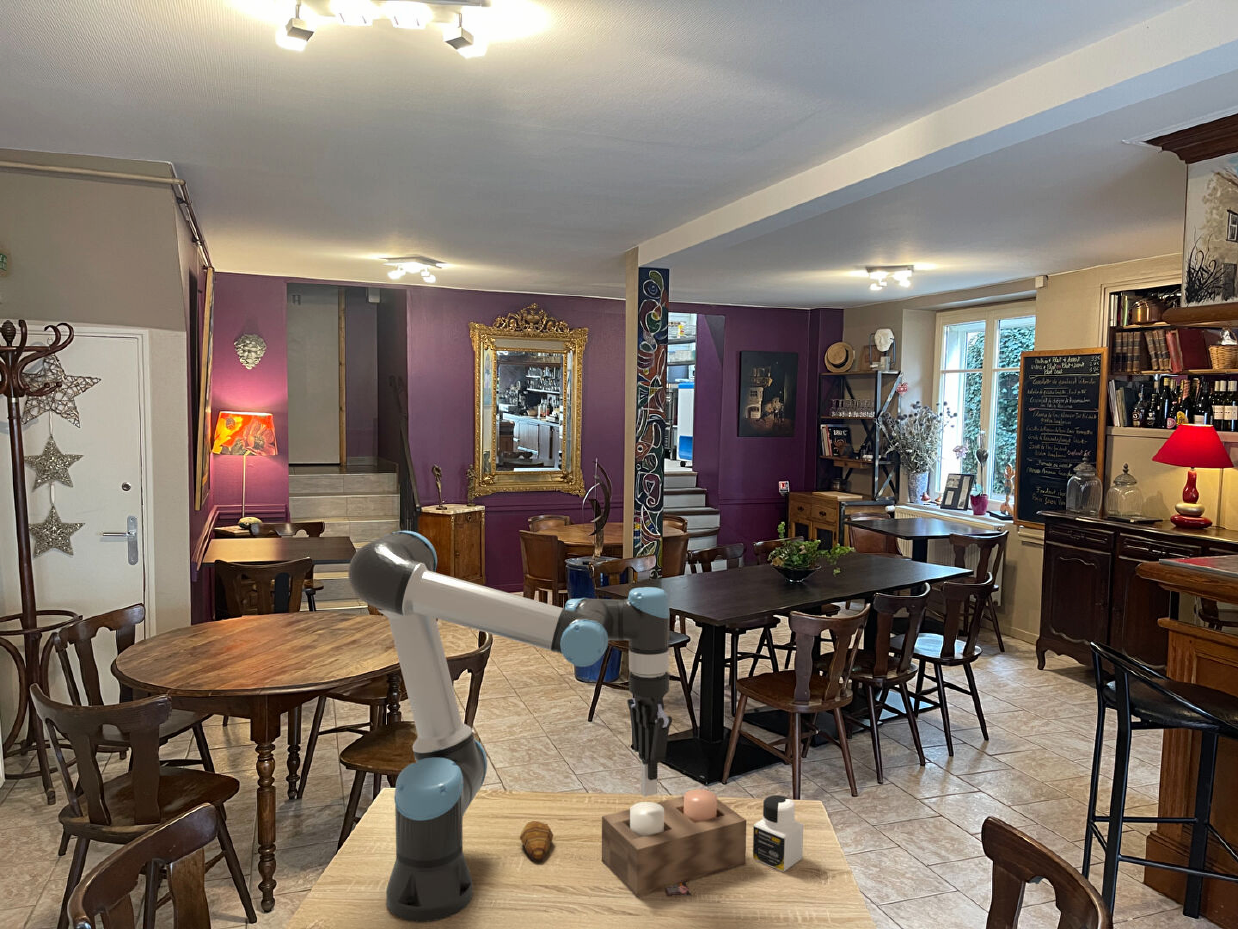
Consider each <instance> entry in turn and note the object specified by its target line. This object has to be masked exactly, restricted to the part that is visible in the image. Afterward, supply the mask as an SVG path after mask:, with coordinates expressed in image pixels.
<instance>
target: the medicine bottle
mask: <svg viewBox="0 0 1238 929" xmlns="http://www.w3.org/2000/svg"><path fill="white" fill-rule="evenodd" d="M795 806H796V804H795V802H794V800H792V799H791V798H789V797H787V796H784V795H779V794H777V795H776V794H775V795H769V796H767V797H766V798H765V799H763V808H762V819H760V820H759V821H757V822H755V823H754V824H753V830H752V831H753V834H752V835H753V836H752V839H753V840H752V859H753V860H755V861H756V862H759V863H761V864H764V865H766V866H769V867H771V868H773V869H775V870H777V871H780V872H782V873H784V872H785V871H787V870H788V869H790V868H791V867H793V866H794V865H795V864H797V863H798V862H799V861H800V860H802V859H803V858H804V857H803V856H804V849H803V848H804V823H802V822H799V821H797V820H795V815H796V814H795V811H796V807H795Z"/></svg>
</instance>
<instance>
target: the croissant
mask: <svg viewBox="0 0 1238 929" xmlns="http://www.w3.org/2000/svg"><path fill="white" fill-rule="evenodd" d="M553 837H554V834H553V831H552V830H551V827H550V826H549V825H548V823H543V822H541V821H537V820H532V821H529V822H527V823H526V825H525V826H524V828H522V831H521V834H520V836H519V840H520V841H521V843H522V844H523V846H524V848H525V851H526V852H527V854H528V856H529V857H530V858H531V859H532V860H533V861H534V862H541V861H543V860H544V858H545V856H546V855H547V852H548V851H549V849H550V844H551V843H552V841H553V839H554V838H553Z"/></svg>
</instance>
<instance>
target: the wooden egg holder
mask: <svg viewBox="0 0 1238 929" xmlns="http://www.w3.org/2000/svg"><path fill="white" fill-rule="evenodd" d="M656 803H657V804H659V805H661V806H662V807H663V808H664V831H663V832H659V833H656V834H652V835H648V836H644V837H639V836H638V835H637V834H635V833H634V832H633V831H632V830H631V829H630V808H629V809H626V810H622V811H617V812H614V813H609V814H606V815H602V816H601V862H602V863H603V864H604V865H605V866H606V867H607V869H609V870H610V871H611V872H612V873H613V875H615V876H616V878H618V880H619V881H620V882H621V883H622V884H623V885H624V886H625V887H626V888H627V889H628V890H629V891H630V892H631V893H632V894H633V895H634V897H636V898H640V897H643V896H646V895H650V894H653V893H656V892H660V891H665V889H666V888H667V887H669V886H673V885H676V884H679V883H683V882H685V883H686V884H687V883H690V882H695V881H696V880H700V879H704V878H707V877H710V876H714V875H717V874H721V873H723V872H724V873H725V872H728V871H731V870H733V869H737V868H740V867H744V866H746V865H747V864H746V862H747V860H746V858H747V857H746V856H747V855H746V854H747V852H746V850H747V819H746V818H745V817H743V816H742V815H740V814H739V813H738V812H736V811H734V810H733V809H732V808H731V807H729V806H727V804H725V803H723V802H722V801H721V800H720V799H718V798H717V817H716V818H713V819H709V820H705V821H701V822H697V823H694V822H693V821H692V820H690V819H689V818H688V817H687V816H685V815H684V795H683V796H678V797H675V798H671V799H667V800H662V801H658V802H656Z"/></svg>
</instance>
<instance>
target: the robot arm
mask: <svg viewBox="0 0 1238 929" xmlns="http://www.w3.org/2000/svg"><path fill="white" fill-rule="evenodd" d="M437 566H438V557H437V552H436V549H435V547H434V546H433V544H432V543H431V542H430V540H429V539H428V538H427V537H425V536H423V535H422V534H420V533H418V532H415V531H410V530H399V531H393V532H391V533H386V534H384V535H383V536H382V537H379V538H377V539H375V540H374V541H371V542H368V543H367V544H365V545H363V546H361V547H360V548H359V549H358V550H357V551H356V552H355V554H354V555H353V557H352V559H351V560H350V563H349V566H348V573H347V574H348V582H349V586H350V587H351V588H350V589H352V592H353V593H354V594H355V595H356V596H357V597H358V599H360V600H361V601H362V602H364V603H365V604H367V605H370V606H371V607H374V608H376V609H377V611H378V612H379V613H380V614H383V615H384V616H386V617H387V619H388V622H389V626H390V631H391V635H392V640H393V642H394V647H395V651H396V654H397V658H398V663H399V666H400V669H401V671H400V672H401V674H402V678H403V681H404V682H403V683H404V686H405V690H406V693H407V694H406V695H407V697H408V701H409V702H408V703H409V705H410V711H411V713H412V717H413V718H412V719H413V721H414V726H415V730H416V733H417V737H416V739H415V741H414V742H413V744H412V746H411V747H412V751H413V757H414V760H415V762H411V763H410V764H408V765H407V766H405V768H403V769H402V770H401V772H400V773H399V774H398V776H397V779H396V782H395V789H394V798H393V799H394V804H395V805H394V806H395V809H394V810H395V811H394V812H395V814H394V816H395V854H396V857H395V860H394V864H393V868H392V871H391V874H390V877H389V880H388V883H387V886H386V890H385V892H386V896H385V897H386V898H385V899H386V907H387V909H388V911H389V912H390V913H391V914H393V915H394V916H396V917H398V918H399V919H402V920H405V921H409V922H411V921H412V922H422V923H423V922H432V921H433V922H434V921H439V920H441V919H447V918H449V917H451V916H453V915H455V914H458V913H459V912H460V911H462V910H463V909H465V908H466V906H467V905H469V903H470V902H471V900H472V898H473V894H474V892H473V891H474V890H473V886H474V885H473V884H474V882H473V878H472V875H471V872H470V869H469V866H468V863H467V860H466V858H465V855H464V851H463V848H464V847H463V842H464V841H463V840H464V839H463V833H464V832H463V826H464V825H463V820H464V815H465V814H466V811H467V810H468V808H469V807H470V805H471V804H472V801H473V800H474V799H475V797H476V795H477V794H478V792H479V791H480V789H481V788H482V786H483V785H484V784H483V783H484V781H485V778H486V774H487V770H488V757H487V753H486V751H485V749H484V747H483V745H482V744H481V742H479V741H478V740H476V739H475V736H474V733H473V730H472V727H471V726H469V725H468V724H466V723H463V721H462V718H461V714H460V710H459V706H458V701H457V698H456V694H455V690H454V689H455V688H454V686H453V682H452V677H451V673H450V670H449V669H450V668H449V665H448V661H447V658H446V654H445V650H444V646H443V642H442V637H441V633H440V630H439V624H438V622H437V620H440V621H444V622H448V623H451V624H455V625H458V626H462V627H465V628H468V629H473V630H476V631H479V632H483V633H487V634H491V635H494V636H497V637H500V638H504V639H508V640H512V641H515V642H519V643H522V644H526V645H529V646H533V647H536V648H539V649H544V650H547V651H551V652H555V653H557V654H561V655H562V656H563V658H565V660H566V661H567V662H568V663H570V664H571V665H572V666H576V667H580V668H582V667H590V666H593V665H595V663H597V662H598V661H599V660H600V659H601V657H603V655H604V654H605V651H606V650H607V649H608V647H609V646H608V645H609V641H628V643H629V644H628V670H629V671H630V672H629V673H628V691H629V692H630V694H632V695H633V698H632V697H631V698H628V699H627V706H628V710H629V717H630V724H631V734H632V735H631V736H632V744H633V750H634V752H635V753H637V752H638V758H639V759H640V794H641V795H642V796H643V797H648V796H652V795H653V796H654V795H657V794H658V767H659V766H658V764H659V763H662V762H665V759H666V752H667V745H668V738H669V732H670V727H671V725H672V723H673V717H672V716H671V715H669V716H667V715H666V713H665V703H664V698H665V696H666V694H668V693H669V691H670V673H669V672H668V671H669V670H670V653H671V652H670V617H671V616H670V599H669V598H670V596H669V595H668V593H667V592H666V590H664V589H662V588H660V587H654V586H653V587H652V586H644V587H635V588H632V589H631V590H629V593H628V597H627V598H626V599H625V598H624V599H613V598H612V599H610V598H609V599H606V598H605V599H604V598H587V597H582V598H571V599H568V600H567V601H566V603H565V606H564V608H563V607H559V606H555V605H553V604H548V603H545V602H543V601H542V602H541V601H539V600H538V601H537V600H535V599H531V598H527V597H525V596H524V597H523V596H521V595H517V594H513V593H509V592H506V591H503V590H499V589H495V588H493V587H492V588H491V587H488V586H484V585H481V584H477V583H474V582H470V581H466V580H463V579H460V578H456V577H453V576H449V575H445V574H441V573H438V572H436V570H437Z"/></svg>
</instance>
